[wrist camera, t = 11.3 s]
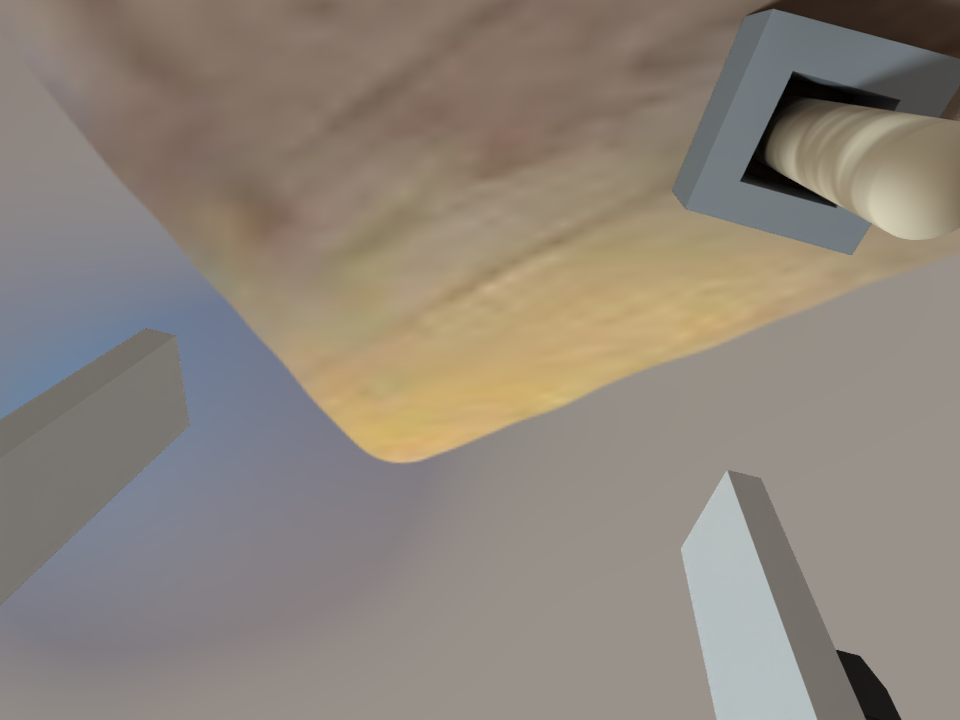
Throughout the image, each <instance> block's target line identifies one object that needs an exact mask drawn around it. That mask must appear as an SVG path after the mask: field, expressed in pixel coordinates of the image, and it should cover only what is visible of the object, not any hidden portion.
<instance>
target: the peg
mask: <svg viewBox="0 0 960 720" xmlns="http://www.w3.org/2000/svg"><path fill="white" fill-rule="evenodd" d="M753 156H754V158H755V159H756V160H758V161H759V162H761V163H762V164H764V165H766V166H768V167H770V168H772V169H773V170H775V171H777V172H779V173H781V174H782V175H784V176H786V177H788V178H790V179H792V180H793V181H795V182H797V183H799V184H801V185H803V186H804V187H806V188H808V189H810V190H812V191H814V192H815V193H817V194H819V195H821V196H823V197H824V198H826V199H828V200H830V201H832V202H834V203H835V204H837V205H839V206H841V207H843V208H845V209H846V210H848V211H850V212H852V213H854V214H856V215H857V216H859V217H861V218H863V219H865V220H866V221H868V222H870V223H872V224H874V225H876V226H877V227H879V228H881V229H883V230H885V231H887V232H888V233H890V234H892V235H894V236H897V237H900V238H904V239H910V240H923V239H930V238H935V237H939V236H942V235H945V234H947V233H950V232H952V231H954V230H956V229H958V228H960V121H954V120H948V119H941V118H935V117H928V116H922V115H916V114H909V113H903V112H896V111H890V110H883V109H877V108H870V107H864V106H857V105H851V104H845V103H838V102H832V101H825V100H819V99H812V98H806V97H799V96H786V97H782V98H780V99H779V101H778V103H777V105H776V107H775V109H774V111H773V113H772V116H771V118H770V120H769V122H768V124H767V126H766V128H765V130H764V132H763V134H762V136H761V138H760V140H759V143H758V145H757V147H756V149H755V151H754V153H753Z"/></svg>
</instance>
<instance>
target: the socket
mask: <svg viewBox="0 0 960 720" xmlns="http://www.w3.org/2000/svg"><path fill="white" fill-rule="evenodd" d="M790 77H792V78H795V79H799V80H803V81H806V82H810V83H814V84H818V85H821V86H825V87H829V88H832V89H836V90H840V91H843V92H847V93H851V94H854V95H855V97H854V98H853V100H852V102H851V105H857V106H864V107H870V108H877V109H883V110H890V111H896V112H903V113H909V114H916V115H922V116H928V117H935V118H940V116H941V115H942V113H943V112H944V110H945V108H946V107H947V105H948V104H949V102H950V101H951V99H952V97H953V96H954V94H955V93H956V91H957V90H958V88H959V87H960V59H959V58H955V57H951V56H948V55H944V54H940V53H936V52H933V51H929V50H925V49H921V48H918V47H914V46H910V45H907V44H903V43H899V42H895V41H892V40H888V39H884V38H880V37H877V36H873V35H869V34H866V33H862V32H858V31H854V30H851V29H847V28H843V27H840V26H836V25H832V24H828V23H825V22H821V21H817V20H813V19H810V18H806V17H802V16H799V15H795V14H791V13H787V12H784V11H780V10H776V9H770V10H767V11H763V12H759V13H756V14H752V15H748V16H745V17H744V20H743V22H742V25H741V27H740V29H739V32H738V34H737V37H736V39H735V41H734V44H733V46H732V48H731V51H730V53H729V56H728V58H727V60H726V63H725V65H724V68H723V70H722V72H721V75H720V77H719V80H718V82H717V84H716V87H715V89H714V92H713V94H712V96H711V99H710V101H709V103H708V106H707V108H706V111H705V113H704V115H703V118H702V120H701V123H700V125H699V127H698V130H697V132H696V135H695V137H694V139H693V142H692V144H691V146H690V149H689V151H688V154H687V156H686V158H685V161H684V163H683V166H682V168H681V170H680V173H679V175H678V178H677V180H676V182H675V185H674V187H673V189H672V192H673V193H674V195H675V196H676V197H677V199H678V200H679V201H680V203H681V204H682V205H683V207H684V208H685V209H687V210H690V211H694V212H698V213H701V214H705V215H708V216H712V217H716V218H719V219H723V220H726V221H730V222H734V223H737V224H741V225H744V226H748V227H752V228H755V229H759V230H762V231H766V232H769V233H773V234H777V235H780V236H784V237H787V238H791V239H795V240H798V241H802V242H805V243H809V244H813V245H816V246H820V247H823V248H827V249H831V250H834V251H838V252H841V253H845V254H849V255H852V254H853V252H854V251H855V249H856V248H857V246H858V245H859V243H860V242H861V240H862V238H863V237H864V235H865V234H866V232H867V231H868V229H869V227H870V226H871V224H872V223H870V222H868V221H866V220H865V219H863V218H861V217H859V216H857V215H856V214H854V213H852V212H850V211H848V210H846V209H845V208H843V207H841V206H839V205H837V204H835V203H834V202H832V201H830V200H828V199H826V198H824V197H823V196H821V195H819V194H817V193H815V192H814V191H812V190H810V189H808V188H806V187H805V188H804V190H803V189H800V188H796V187H792V186H789V185H785V184H781V183H778V182H774V181H771V180H767V179H763V178H760V177H756V176H752V175H749V174H745V173H744V172H745V170H746V167H747V165H748V163H749V161H750V159H751V157H752V155H753V153H754V151H755V149H756V147H757V145H758V143H759V140H760V138H761V136H762V134H763V132H764V130H765V128H766V126H767V124H768V122H769V120H770V118H771V116H772V113H773V111H774V109H775V107H776V105H777V103H778V101H779V99H780V97H781V95H782V93H783V91H784V89H785V86H786V84H787V82H788V80H789V78H790Z"/></svg>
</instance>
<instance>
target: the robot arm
mask: <svg viewBox="0 0 960 720" xmlns="http://www.w3.org/2000/svg"><path fill="white" fill-rule="evenodd" d="M189 425H190V424H189V417H188V411H187V405H186V398H185V391H184V384H183V378H182V371H181V365H180V358H179V351H178V344H177V338H176V335H172V334H168V333H163V332H160V331H155V330H151V329H147V328H145V329H143V330H142V331H140V332H139V333H137V334H136V335H134V336H132V337H131V338H129V339H128V340H126V341H124V342H123V343H121V344H120V345H118V346H116V347H115V348H113V349H112V350H110V351H109V352H107V353H105V354H104V355H102V356H101V357H99V358H97V359H96V360H94V361H93V362H91V363H90V364H88V365H86V366H85V367H83V368H82V369H80V370H78V371H77V372H75V373H74V374H72V375H70V376H69V377H67V378H66V379H64V380H62V381H61V382H60V383H58V384H56V385H55V386H53V387H51V388H50V389H48V390H47V391H45V392H43V393H42V394H40V395H39V396H37V397H36V398H34V399H32V400H31V401H29V402H28V403H26V404H24V405H23V406H21V407H20V408H18V409H17V410H15V411H13V412H12V413H10V414H9V415H7V416H5V417H4V418H2V419H1V420H0V605H1V604H2V603H3V602H4V601H5V600H6V599H8V598H9V597H10V596H11V595H12V594H13V593H14V592H15V591H16V590H17V589H18V588H19V587H20V586H21V585H22V584H23V583H24V582H25V581H26V580H28V579H29V578H30V577H31V576H32V575H33V574H34V573H35V572H36V571H37V570H38V569H39V568H40V567H41V566H42V565H43V564H44V563H45V562H46V561H47V560H48V559H50V558H51V557H52V556H53V555H54V554H55V553H56V552H57V551H58V550H59V549H60V548H61V547H62V546H63V545H64V544H65V543H66V542H67V541H68V540H70V539H71V538H72V536H74V535H75V534H76V533H77V532H78V531H79V530H80V529H81V528H82V527H83V526H84V525H85V524H86V523H87V522H88V521H89V520H91V519H92V518H93V517H94V516H95V515H96V514H97V513H98V512H99V511H100V510H101V509H102V508H103V507H104V506H105V505H106V504H107V503H108V502H110V501H111V499H112V498H114V497H115V496H116V495H117V494H118V493H119V492H120V491H121V490H122V489H123V488H124V487H125V486H126V485H127V484H128V483H129V482H130V481H131V480H133V479H134V478H135V477H136V476H137V475H138V474H139V473H140V472H141V471H142V470H143V469H144V468H145V467H146V466H147V465H148V464H149V463H150V462H151V461H152V460H154V459H155V458H156V456H158V455H159V454H160V453H161V452H162V451H163V450H164V449H165V448H166V447H167V446H168V445H169V444H170V443H171V442H172V441H174V440H175V439H176V438H177V437H178V436H179V435H180V434H181V433H182V432H183V431H184V430H185V429H186V428H187V427H188V426H189ZM681 552H682V556H683V562H684V566H685V571H686V576H687V580H688V585H689V590H690V595H691V599H692V604H693V609H694V613H695V619H696V623H697V628H698V633H699V638H700V643H701V647H702V652H703V657H704V661H705V666H706V671H707V676H708V681H709V685H710V690H711V695H712V700H713V704H714V709H715V714H716V719H717V720H901V718H900V716H899V714H898V712H897V710H896V708H895V706H894V704H893V702H892V700H891V697H890V695H889V693H888V691H887V689H886V688H885V687H884V686H883V684H882V683H881V682H880V681H879V679H878V678H877V677H876V676H875V674H874V673H873V672H872V671H871V669H870V668H869V667H868V666H867V664H866V663H865V662H864V660H863V659H862V658H861V657H860V656H858V655H854V654H850V653H846V652H843V651H839V650H835V648H834V645H833V643H832V641H831V638H830V636H829V634H828V632H827V629H826V627H825V625H824V622H823V620H822V618H821V615H820V613H819V611H818V608H817V606H816V604H815V601H814V599H813V597H812V595H811V592H810V590H809V588H808V585H807V583H806V581H805V578H804V576H803V574H802V572H801V569H800V567H799V565H798V562H797V560H796V558H795V556H794V553H793V551H792V549H791V546H790V544H789V542H788V539H787V537H786V535H785V532H784V530H783V528H782V526H781V523H780V521H779V519H778V516H777V514H776V512H775V509H774V507H773V505H772V503H771V500H770V498H769V496H768V493H767V491H766V489H765V486H764V484H763V482H762V480H761V478H758V477H754V476H749V475H746V474H742V473H738V472H733V471H729V470H727V471H726V473H725V474H724V476H723V478H722V480H721V481H720V483H719V485H718V486H717V488H716V490H715V492H714V493H713V495H712V497H711V498H710V500H709V502H708V503H707V505H706V507H705V509H704V510H703V512H702V514H701V516H700V517H699V519H698V521H697V522H696V524H695V526H694V527H693V529H692V531H691V533H690V534H689V536H688V538H687V540H686V541H685V543H684V545H683V546H682V548H681Z"/></svg>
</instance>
